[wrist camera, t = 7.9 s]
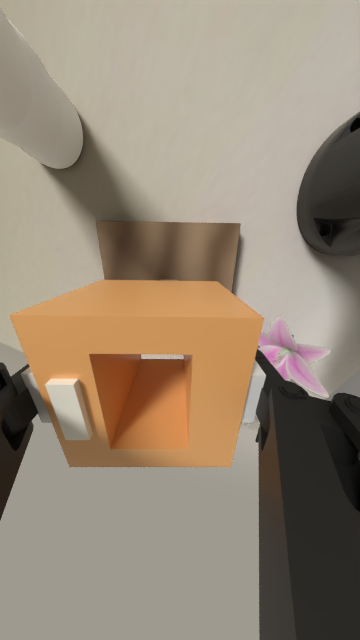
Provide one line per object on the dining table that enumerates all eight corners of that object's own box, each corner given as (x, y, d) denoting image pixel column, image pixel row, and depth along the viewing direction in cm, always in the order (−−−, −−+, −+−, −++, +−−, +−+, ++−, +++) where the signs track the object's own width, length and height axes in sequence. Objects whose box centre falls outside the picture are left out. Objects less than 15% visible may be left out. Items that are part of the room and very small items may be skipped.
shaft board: (235, 225, 23) (289, 202, 12) (221, 341, 30) (246, 395, 19) (102, 223, 23) (29, 197, 11) (119, 340, 29) (83, 395, 18)
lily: (268, 292, 28) (263, 323, 21) (347, 323, 25) (373, 371, 18) (237, 340, 35) (226, 375, 28) (295, 369, 32) (299, 414, 25)
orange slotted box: (208, 372, 15) (232, 474, 8) (117, 372, 15) (65, 474, 8) (217, 281, 12) (268, 321, 5) (102, 279, 12) (-1, 318, 5)
